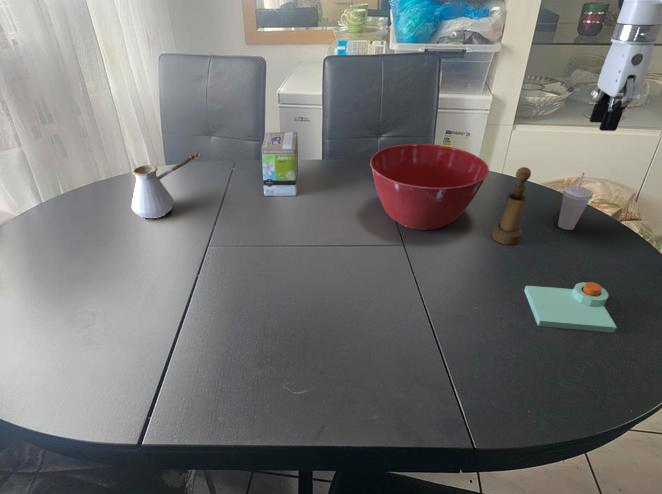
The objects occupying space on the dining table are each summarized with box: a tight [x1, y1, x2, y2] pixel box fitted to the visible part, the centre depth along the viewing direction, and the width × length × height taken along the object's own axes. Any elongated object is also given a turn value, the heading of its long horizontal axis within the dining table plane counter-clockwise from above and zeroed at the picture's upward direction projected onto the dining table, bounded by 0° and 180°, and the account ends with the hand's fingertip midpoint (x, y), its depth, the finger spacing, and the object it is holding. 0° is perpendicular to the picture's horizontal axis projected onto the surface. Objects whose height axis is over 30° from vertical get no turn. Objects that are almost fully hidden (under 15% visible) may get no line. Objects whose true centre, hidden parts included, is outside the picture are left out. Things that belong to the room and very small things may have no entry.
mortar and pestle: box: [491, 166, 532, 246], centre depth 104 cm, size 7×6×18 cm
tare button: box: [583, 281, 603, 296], centre depth 86 cm, size 3×3×2 cm
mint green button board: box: [523, 281, 618, 334], centre depth 86 cm, size 14×11×3 cm
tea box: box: [261, 131, 299, 197], centre depth 134 cm, size 15×10×15 cm, turn 178°
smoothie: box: [557, 172, 594, 231], centre depth 109 cm, size 6×6×14 cm
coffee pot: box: [131, 152, 203, 218], centre depth 123 cm, size 21×12×15 cm, turn 114°
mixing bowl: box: [369, 143, 490, 231], centre depth 114 cm, size 28×28×15 cm
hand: (602, 125), depth 98 cm, fingers open, 5 cm apart
